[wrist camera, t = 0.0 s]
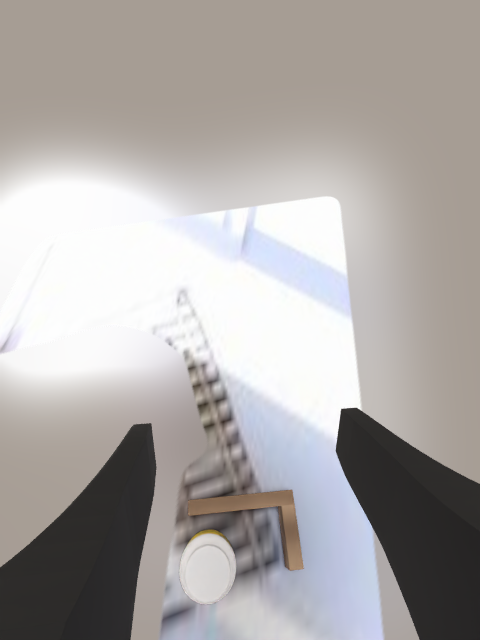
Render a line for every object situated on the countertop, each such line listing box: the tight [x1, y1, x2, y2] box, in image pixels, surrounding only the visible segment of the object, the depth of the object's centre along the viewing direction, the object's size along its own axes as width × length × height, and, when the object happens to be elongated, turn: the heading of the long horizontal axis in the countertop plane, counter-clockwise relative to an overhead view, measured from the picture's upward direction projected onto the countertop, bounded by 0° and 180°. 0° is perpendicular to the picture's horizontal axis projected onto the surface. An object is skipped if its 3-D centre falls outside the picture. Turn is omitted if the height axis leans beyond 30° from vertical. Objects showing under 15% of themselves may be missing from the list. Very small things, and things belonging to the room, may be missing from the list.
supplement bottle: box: [179, 529, 236, 605], centre depth 33 cm, size 5×5×10 cm
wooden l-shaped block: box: [188, 490, 304, 571], centre depth 37 cm, size 8×12×2 cm, turn 95°
